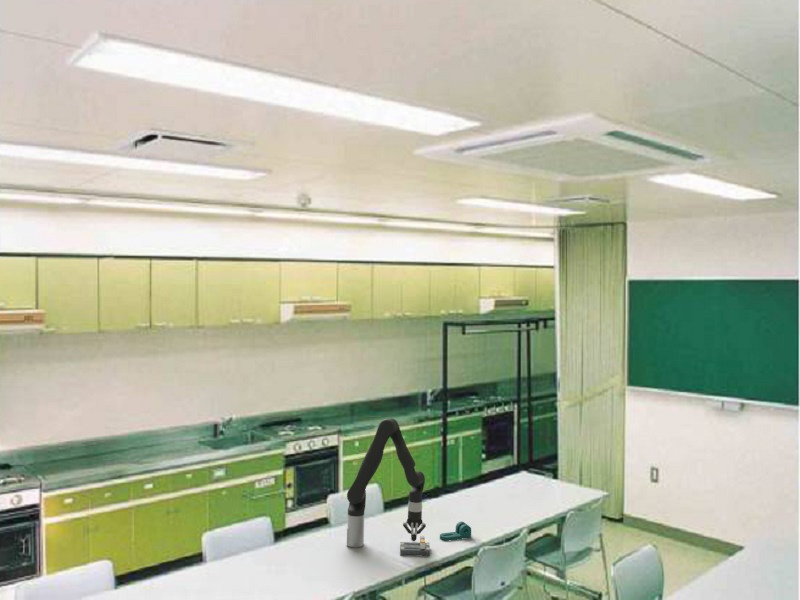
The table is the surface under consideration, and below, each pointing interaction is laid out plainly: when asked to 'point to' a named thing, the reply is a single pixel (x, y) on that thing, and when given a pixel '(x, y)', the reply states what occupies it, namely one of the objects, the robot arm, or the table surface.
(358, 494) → the robot arm
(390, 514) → the table surface
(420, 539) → the block
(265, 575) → the table surface
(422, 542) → the block
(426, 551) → the panel
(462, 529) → the bracket
